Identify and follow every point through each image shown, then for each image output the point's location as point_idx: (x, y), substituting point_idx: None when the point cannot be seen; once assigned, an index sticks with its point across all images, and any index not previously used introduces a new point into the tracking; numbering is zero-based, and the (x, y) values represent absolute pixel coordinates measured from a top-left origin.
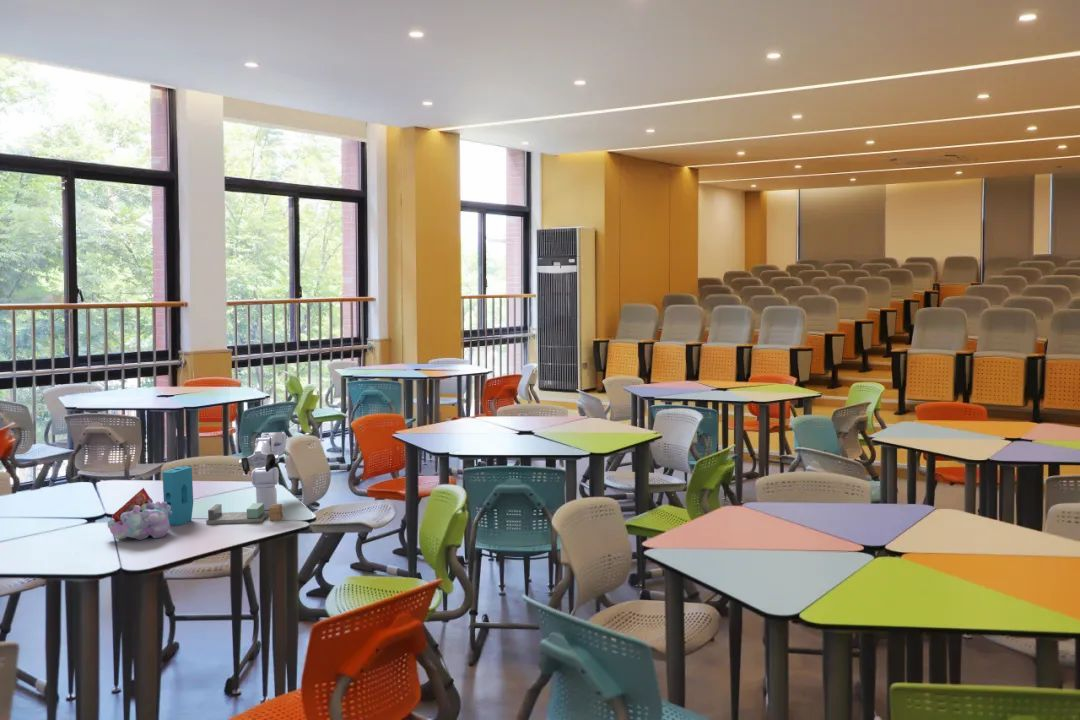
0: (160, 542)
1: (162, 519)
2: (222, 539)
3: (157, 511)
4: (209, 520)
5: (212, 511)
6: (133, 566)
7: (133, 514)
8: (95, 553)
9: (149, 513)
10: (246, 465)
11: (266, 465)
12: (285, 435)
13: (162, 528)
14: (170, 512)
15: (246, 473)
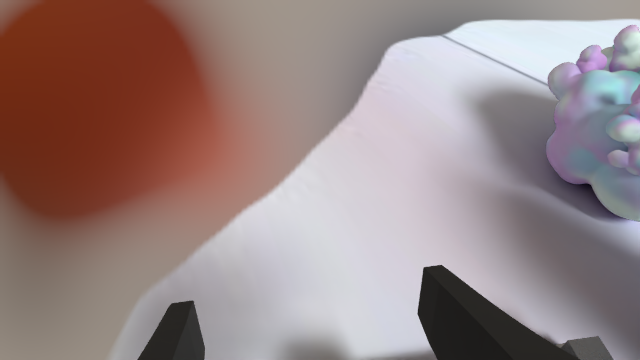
0: (514, 138)
1: (556, 106)
2: (350, 167)
3: (584, 79)
4: (557, 344)
5: (570, 342)
6: (425, 39)
7: (612, 46)
8: None
9: (578, 60)
10: (476, 325)
11: (172, 317)
12: None
13: (551, 135)
14: (612, 152)
15: (421, 303)
